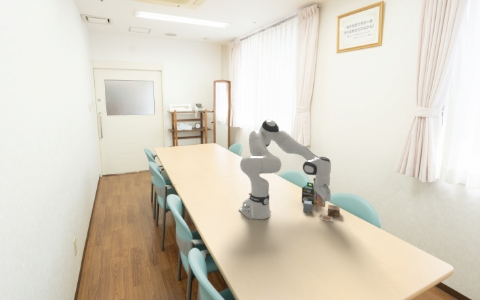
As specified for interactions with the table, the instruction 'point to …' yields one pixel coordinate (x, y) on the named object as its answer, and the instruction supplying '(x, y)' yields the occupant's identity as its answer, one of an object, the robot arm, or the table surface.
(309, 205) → the slate block
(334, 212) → the walnut base
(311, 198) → the dark product box
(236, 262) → the table surface
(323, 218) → the swatch
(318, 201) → the terracotta block
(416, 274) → the table surface
